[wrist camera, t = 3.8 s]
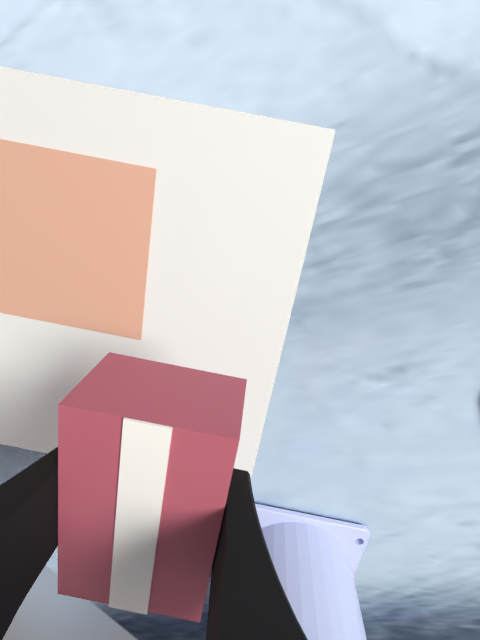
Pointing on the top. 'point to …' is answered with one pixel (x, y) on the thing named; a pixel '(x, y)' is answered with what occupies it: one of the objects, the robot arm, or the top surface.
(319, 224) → the top surface
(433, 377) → the top surface
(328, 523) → the robot arm
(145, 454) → the card box
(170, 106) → the mat
